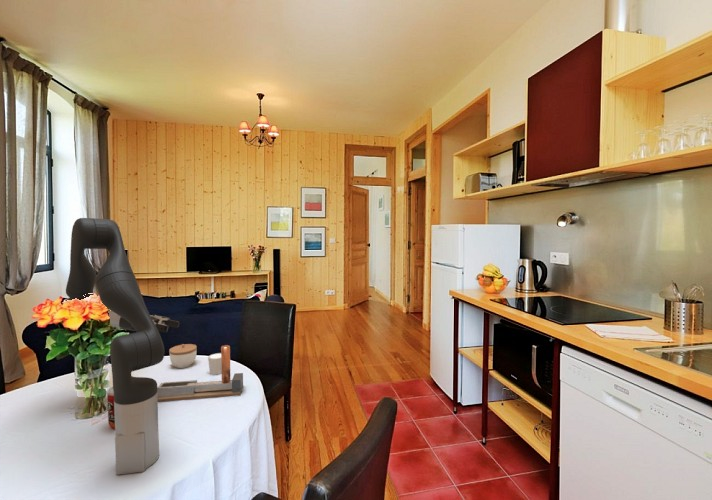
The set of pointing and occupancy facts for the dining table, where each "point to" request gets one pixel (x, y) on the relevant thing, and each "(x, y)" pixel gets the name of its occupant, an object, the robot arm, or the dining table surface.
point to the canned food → (111, 408)
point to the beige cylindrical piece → (215, 364)
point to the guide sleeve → (175, 389)
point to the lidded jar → (183, 355)
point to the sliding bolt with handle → (226, 381)
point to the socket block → (237, 382)
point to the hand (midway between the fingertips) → (173, 327)
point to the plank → (201, 395)
